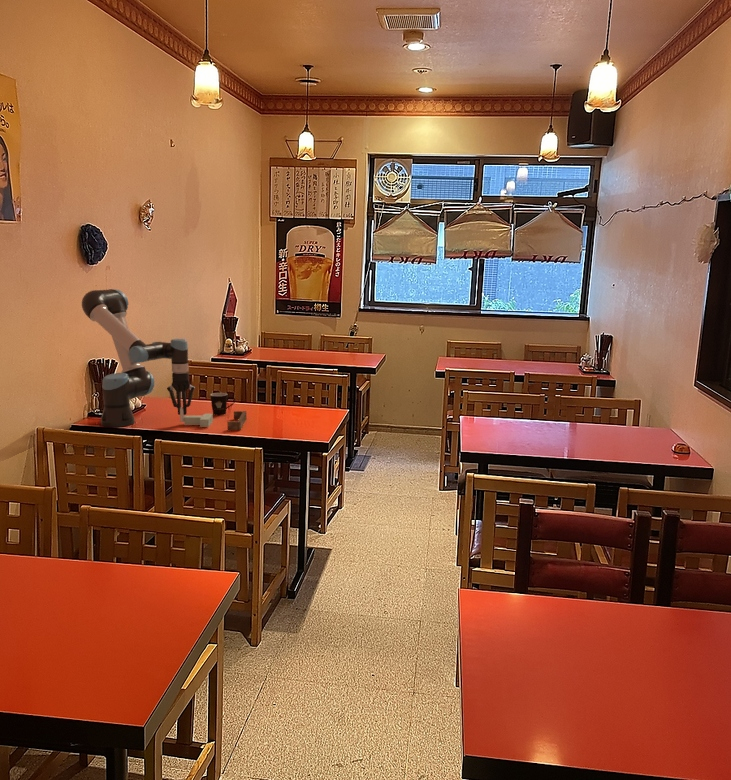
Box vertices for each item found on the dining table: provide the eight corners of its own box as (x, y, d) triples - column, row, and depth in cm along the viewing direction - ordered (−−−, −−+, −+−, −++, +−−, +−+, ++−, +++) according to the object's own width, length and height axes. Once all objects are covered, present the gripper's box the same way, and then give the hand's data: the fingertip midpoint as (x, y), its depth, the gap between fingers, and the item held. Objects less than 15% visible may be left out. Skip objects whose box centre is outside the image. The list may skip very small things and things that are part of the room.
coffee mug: (207, 414, 350) (207, 395, 348) (216, 411, 358) (215, 392, 356) (228, 416, 347) (227, 397, 345) (236, 413, 355) (236, 393, 353)
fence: (227, 430, 320) (227, 422, 320) (234, 419, 342) (234, 411, 342) (240, 430, 321) (240, 422, 320) (246, 419, 343) (246, 411, 342)
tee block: (182, 427, 324) (182, 419, 324) (187, 421, 336) (187, 413, 335) (208, 427, 325) (208, 419, 324) (212, 421, 337) (212, 413, 336)
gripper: (164, 373, 321) (166, 423, 326) (192, 373, 322) (195, 423, 326) (168, 370, 329) (170, 419, 333) (196, 370, 329) (198, 419, 334)
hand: (182, 421), depth 330 cm, fingers closed
